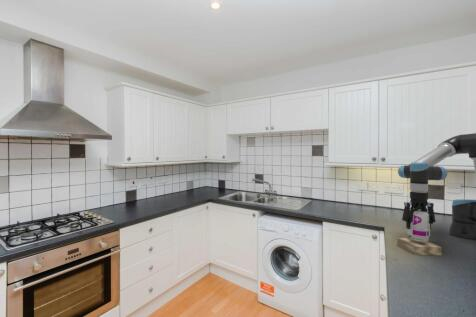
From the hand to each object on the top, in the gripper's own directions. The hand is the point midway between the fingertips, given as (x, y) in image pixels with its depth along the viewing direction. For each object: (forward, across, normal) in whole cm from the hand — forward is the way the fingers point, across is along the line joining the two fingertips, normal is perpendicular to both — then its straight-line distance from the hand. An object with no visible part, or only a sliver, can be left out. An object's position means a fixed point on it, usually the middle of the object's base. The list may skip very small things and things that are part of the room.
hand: (418, 235), depth 120 cm
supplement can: (+2, 0, 0) cm, 2 cm away
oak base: (+8, 0, 0) cm, 8 cm away
